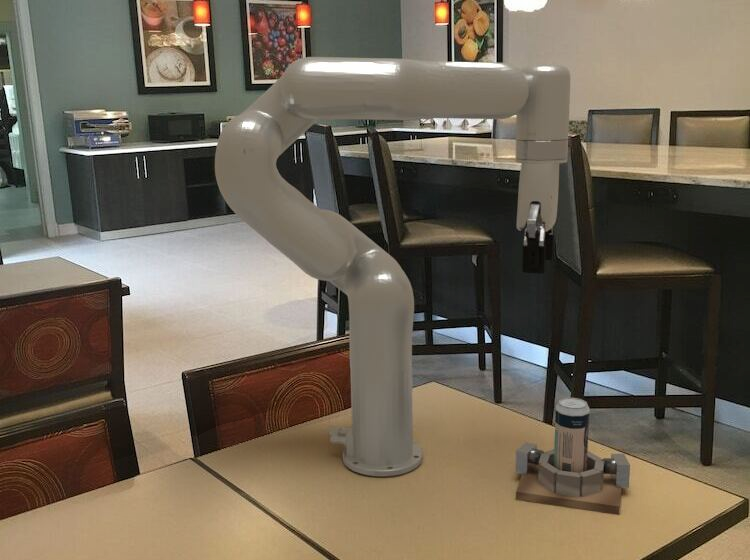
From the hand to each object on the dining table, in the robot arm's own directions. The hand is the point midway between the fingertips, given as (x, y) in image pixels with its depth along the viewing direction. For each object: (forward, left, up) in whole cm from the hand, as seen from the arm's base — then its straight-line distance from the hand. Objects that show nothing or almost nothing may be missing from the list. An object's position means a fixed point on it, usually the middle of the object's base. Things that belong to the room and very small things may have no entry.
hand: (538, 265), depth 120 cm
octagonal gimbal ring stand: (+7, -11, -30) cm, 33 cm away
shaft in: (+1, -9, -29) cm, 31 cm away
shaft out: (+13, -9, -29) cm, 33 cm away
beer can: (+7, -11, -29) cm, 32 cm away
